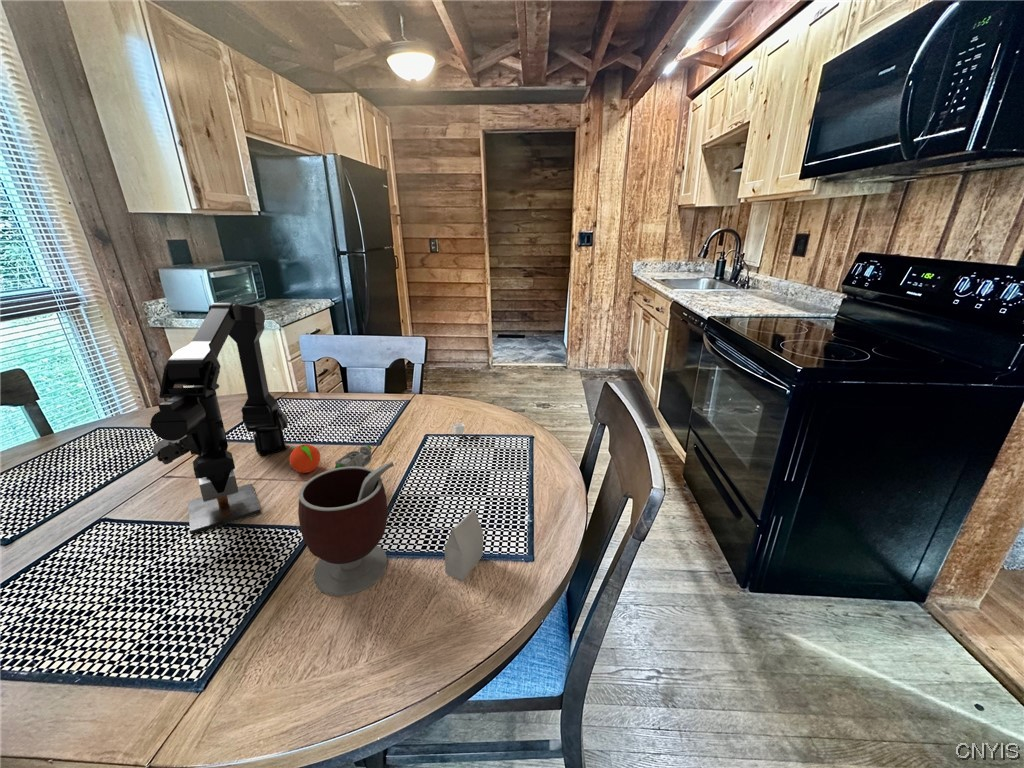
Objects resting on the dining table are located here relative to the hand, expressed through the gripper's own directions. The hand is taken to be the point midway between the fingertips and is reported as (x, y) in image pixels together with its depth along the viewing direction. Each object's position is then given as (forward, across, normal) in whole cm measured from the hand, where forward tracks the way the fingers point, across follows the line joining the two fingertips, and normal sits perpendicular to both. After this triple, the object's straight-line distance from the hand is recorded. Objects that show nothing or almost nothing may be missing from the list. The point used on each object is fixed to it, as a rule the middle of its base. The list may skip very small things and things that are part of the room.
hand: (219, 485), depth 87 cm
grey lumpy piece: (+6, +10, +25) cm, 28 cm away
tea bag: (+6, +44, +33) cm, 55 cm away
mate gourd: (+6, +33, +17) cm, 38 cm away
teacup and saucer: (+7, +2, +59) cm, 59 cm away
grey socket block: (+6, 0, 0) cm, 6 cm away
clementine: (+6, -6, +18) cm, 20 cm away
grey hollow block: (+1, 0, 0) cm, 1 cm away
